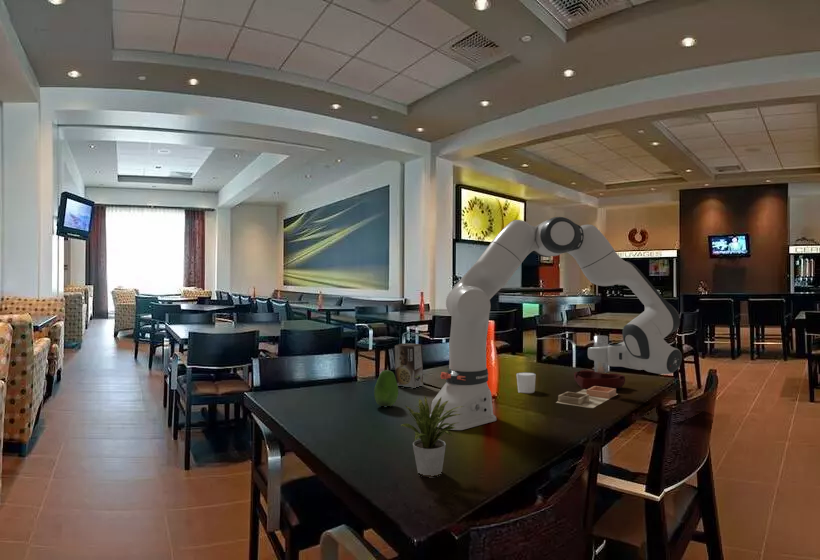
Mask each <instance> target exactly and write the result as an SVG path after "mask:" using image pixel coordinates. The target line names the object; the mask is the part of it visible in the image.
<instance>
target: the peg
mask: <svg viewBox="0 0 820 560" xmlns="http://www.w3.org/2000/svg"><path fill="white" fill-rule="evenodd" d="M602 346H609V336H608V335H593V347H602ZM593 362H594V363H593V365H594V369H593V371H595V372H599V373H603V374H608V373H609V365H608V363H601V362H598V361H594V360H593Z"/></svg>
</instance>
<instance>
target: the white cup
mask: <svg viewBox="0 0 820 560" xmlns="http://www.w3.org/2000/svg"><path fill="white" fill-rule="evenodd" d="M515 374H516V384H517V392H518V393H519V394H520V393H522V394H533V393H535V390H536V380H537V379H536V378H537V377H536V376H537V375H536V373H534V372H527V371H526V372H525V371H523V372H517V373H515Z"/></svg>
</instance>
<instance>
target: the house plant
mask: <svg viewBox="0 0 820 560" xmlns="http://www.w3.org/2000/svg"><path fill="white" fill-rule="evenodd" d="M448 401H449V400H448ZM448 401H446V402H444V403H443V404H442V405H441V406H440V407H439V405H440V402H441V398H440V399H439V400H438V402H437V404H436V405H435V407H434V409H433V411H432V413H431V410H430V406H429V404H428V400H427V396H424V403H423V400H422V399H420V398H418V405H416V407H418V410H419V412H418V411H417V412H416V411H414V410H413V409H412V408H410V407H409V406H407V405H405V408H406V409H407V410H409V412H408V411H406V413H408V414H409V416H411V417H412V419H413V421H415V423H416V425H417V427H418V429H419V430H420V432H421V433H420V432H419V430H418V429H417V428H416V426H413V425H411V424H410V423H402V424H400V426H401V427H405V428H408V429H411V430H413V431H414V435H415V436H414V441H413V442H412V448H413V453H414V459H415V465H416V469H417V474H418V473H420V474H423V475H431V476H434V475H438V474H441V475H442V473H443V466H444V459H445V453H446V445H447V444H446V442H445V441H444V440H442V439H440V438H441V437H443V435H444V434H447V435H449V436H450V437H451V438H453V434H452V432H451V431H450V429H454V427H455V426H454V425H453V424H456V423H452V424H449V423H444V424H442V423H443V421H444V420H445V419H446V418H449V417H452V416H456V415H460V414H453V415H450V414H451V413H453V412H457V411H452V410H454V409H456V408H460V407H456V408H453V409H451V410H449V411H446V413H445V414H444V415H443V416H442V417H441V418H440V416H441V414H442V413H443V411H444V407H445V405H446V404H447V403H448ZM461 407H464V406H461ZM438 408H439V409H438ZM451 411H452V412H451ZM444 412H445V411H444ZM449 412H450V413H449ZM447 413H448V414H447ZM430 414H431V416H430ZM446 414H447V415H446ZM445 415H446V416H445ZM442 420H443V421H442ZM441 421H442V422H441ZM440 422H441V424H440V425H439V427H437V426H438V424H439V423H440ZM445 425H449V426H448V427H445V428H442V427H443V426H445ZM452 425H453V426H454V427H452ZM455 429H456V428H455ZM441 472H442V473H441Z"/></svg>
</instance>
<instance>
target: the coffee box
mask: <svg viewBox="0 0 820 560" xmlns="http://www.w3.org/2000/svg"><path fill="white" fill-rule="evenodd" d="M423 360H424V359H423V344H420V343H406V342H405V343H403V342H402V343H398V344H396V345H394V361H395V362H394V364H395V365H394V367H395V369H394V371H395V373H394V375H395V378H396V381H397V384H398V385H403V386H409V387H414V388H416V387H419V386H422V385H423V386H424V376H423V375H424V372H423V371H424V368H423V366H424V365H423ZM423 386H422V387H423ZM419 388H420V387H419ZM416 389H417V388H416Z"/></svg>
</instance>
